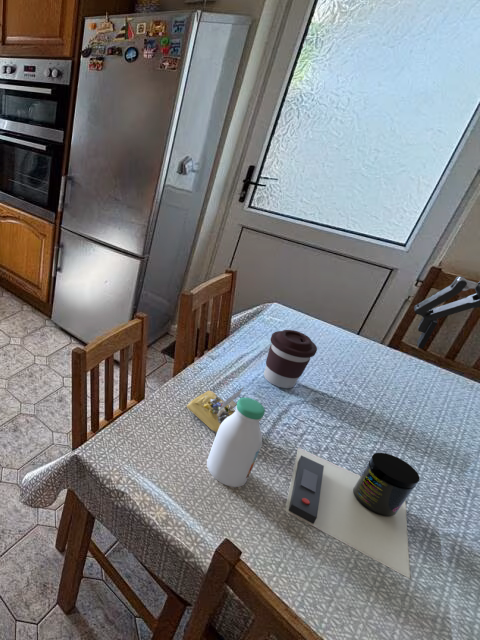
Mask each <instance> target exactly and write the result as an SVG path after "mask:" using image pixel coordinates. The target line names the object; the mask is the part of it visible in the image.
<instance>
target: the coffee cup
mask: <svg viewBox="0 0 480 640" xmlns="http://www.w3.org/2000/svg"><path fill="white" fill-rule="evenodd" d="M269 340H270V343H271V344H270V346H269V349H268V353H267V356H266V360H265V368H264V371H263V377H264V378H265V380H266V381H267V382H268V383H270V384H271V385H273V386H275V387H277V388H282V389H291V388H294V387H295V385H296V384H297V383H298V380H299V379H300V378H301V377H302V375H303V373H304V371H305V370H306V368H307V366H308V364H309V362H310V361H311V358H312V357H314V356H315V355H316V353H317V351H318V347H317V345H316V344H315V342H313V341H312V339H311V337H309V336H308V335H306V334H305V333H303V332H301V331H298V330H295V329H283V330H278V331H274V332H273V333H272V334H271V337H270V339H269Z"/></svg>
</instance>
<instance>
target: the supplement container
mask: <svg viewBox="0 0 480 640" xmlns="http://www.w3.org/2000/svg"><path fill="white" fill-rule="evenodd" d="M419 482H420V474H419V472H418V471H417V470H416V469H415V468H414V467H413V466H412V465H410V464H409V463H408V462H406V461H405V460H404V459H401V458H399V457H397V456H396V455H392V454H390V453H387V452H374V453H373V454H372V456H371V457H370V459H369V460H368V462H367V465H366V467H365V468H364V470H363V471H362V473H361V474H360V478H359V480H358V481H357V483H356V485H355V486H354V488H353V493H354V496H355V498H356V499H357V501H358V502H359V503H360V504H361V505H362V506H363V507H365V508H366V509H368V510H369V511H371V512H373V513H375V514H377V515H381V516H386V517H390V516H394V515H395V514H396V513H397V512H398V510H399V509H400V507H401V506H402V504H403V503H404V501H406V500H407V499H408V497H409V496H410V494H411V493H412V492H413V490H414V489H415V488H416V486H417V484H419Z"/></svg>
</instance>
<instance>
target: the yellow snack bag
mask: <svg viewBox="0 0 480 640" xmlns="http://www.w3.org/2000/svg"><path fill="white" fill-rule="evenodd" d="M244 388H245V386H243V387H241V388H240V389H239V390H238V391H236V392H235V393H233V394H232V395H231V396H229V397H228V398H227V399H225V400H223V399H222V398H220V397H219V396H218V395H217V394H216V393H215V392H213V391H211V390H207V391H205V392H204V393H202V394H200V395H198V396H196V397H195V398H194V399H192V400H191V401H190V402H188V404H186V408H187V409H188V410H189V411H190V412H191V413H193V415H195V416H196V417H197V418H198V419H199V420H200V422H202V423H203V424H205V426H206V427H208V428H209V429H210V430H211V431H213V432H215V433H217V431H218V429H219V427H220V425H221V423H222V422H223V421H224V420H225V419H226V418H227V417H228V416H230V415H232V414H233V413H234V412H235V411H236V409H235V408H236V406H237V403H236V402H235V401H234V400H236V399H237V398H238V397H239V396H240V395H241V393H242V391H243V390H244Z"/></svg>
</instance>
